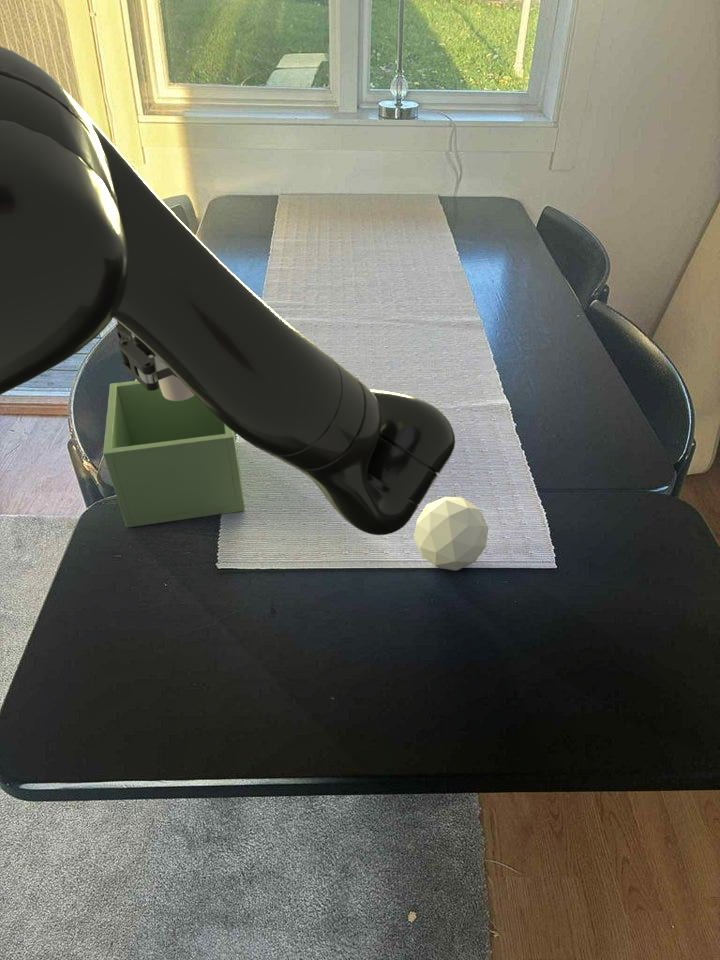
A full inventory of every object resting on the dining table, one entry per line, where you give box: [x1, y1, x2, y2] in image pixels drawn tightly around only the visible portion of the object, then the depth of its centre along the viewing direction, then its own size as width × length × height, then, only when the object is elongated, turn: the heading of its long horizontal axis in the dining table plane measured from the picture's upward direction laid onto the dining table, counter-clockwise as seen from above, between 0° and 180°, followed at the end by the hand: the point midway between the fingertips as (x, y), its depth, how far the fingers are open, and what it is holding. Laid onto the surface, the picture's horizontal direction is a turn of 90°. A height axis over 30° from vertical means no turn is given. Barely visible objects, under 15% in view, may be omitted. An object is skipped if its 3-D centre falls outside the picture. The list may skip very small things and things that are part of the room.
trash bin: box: [102, 380, 246, 529], centre depth 83 cm, size 14×14×11 cm
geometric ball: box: [413, 496, 489, 572], centre depth 75 cm, size 8×8×8 cm
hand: (153, 314), depth 70 cm, fingers closed on smoothie, 6 cm apart
